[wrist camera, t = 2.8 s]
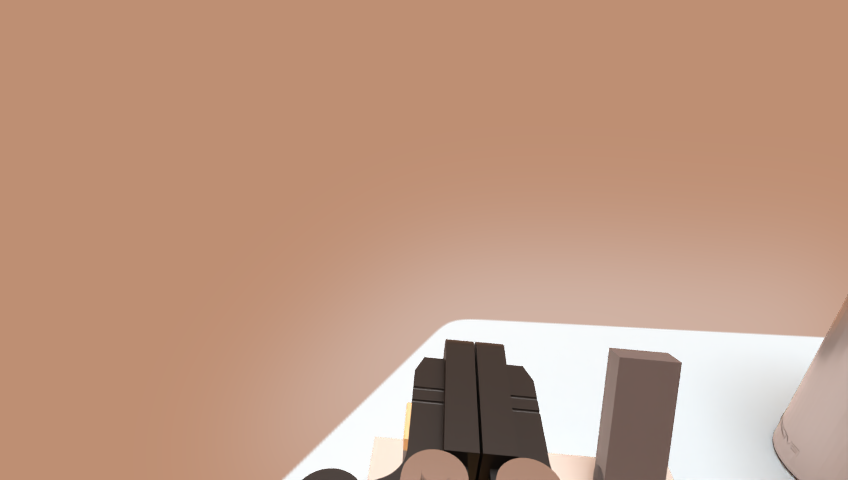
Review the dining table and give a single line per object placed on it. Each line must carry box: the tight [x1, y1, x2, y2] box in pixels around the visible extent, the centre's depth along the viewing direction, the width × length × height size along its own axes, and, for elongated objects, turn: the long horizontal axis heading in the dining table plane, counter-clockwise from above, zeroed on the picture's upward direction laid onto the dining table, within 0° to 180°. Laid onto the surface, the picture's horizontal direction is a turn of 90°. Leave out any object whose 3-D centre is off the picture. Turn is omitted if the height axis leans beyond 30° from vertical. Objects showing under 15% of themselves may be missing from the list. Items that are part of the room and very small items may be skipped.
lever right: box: [593, 348, 682, 480], centre depth 31 cm, size 4×2×9 cm, turn 87°
